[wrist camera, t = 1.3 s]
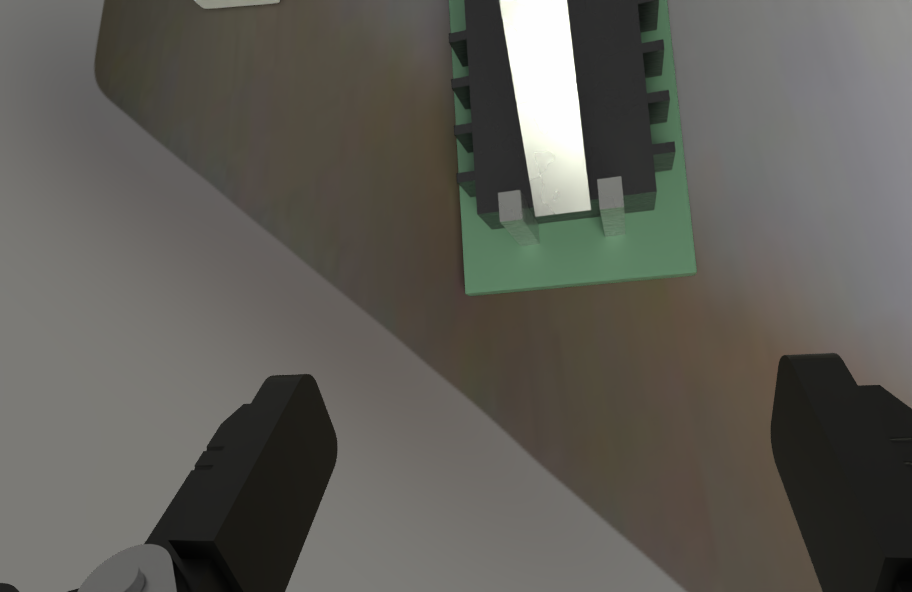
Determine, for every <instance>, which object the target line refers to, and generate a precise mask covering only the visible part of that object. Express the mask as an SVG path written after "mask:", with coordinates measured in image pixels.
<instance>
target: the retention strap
mask: <svg viewBox="0 0 912 592" xmlns="http://www.w3.org/2000/svg"><path fill="white" fill-rule="evenodd" d="M499 1H500V7H501V13H502V19H503V25H504V31H505V37H506V43H507V49H508V55H509V61H510V67H511V73H512V79H513V85H514V91H515V97H516V103H517V109H518V115H519V121H520V127H521V133H522V139H523V145H524V151H525V157H526V163H527V169H528V175H529V181H530V187H531V193H532V199H533V205H534V211H535V217H537V216H545V215H553V214H562V213H570V212H578V211H586V210H591V199H590V190H589V181H588V173H587V164H586V155H585V147H584V138H583V129H582V121H581V112H580V103H579V95H578V86H577V77H576V69H575V60H574V51H573V43H572V34H571V25H570V17H569V8H568V0H499Z"/></svg>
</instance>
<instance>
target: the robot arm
mask: <svg viewBox="0 0 912 592" xmlns="http://www.w3.org/2000/svg"><path fill="white" fill-rule="evenodd" d="M771 444H772V451H773V456H774V460H775V463H776V466H777V469H778V472H779V474H780V477H781V480H782V483H783V485H784V488H785V491H786V493H787V496H788V499H789V501H790V504H791V507H792V510H793V512H794V515H795V518H796V520H797V523H798V526H799V529H800V531H801V534H802V537H803V539H804V542H805V545H806V548H807V550H808V553H809V556H810V558H811V561H812V564H813V566H814V569H815V572H816V575H817V577H818V580H819V583H820V585H821V588H822V591H823V592H912V409H911V408H910V407H908V406H907V405H906V404H904V403H903V402H902V401H900V400H899V399H898V398H896V397H895V396H893V395H892V394H891V393H889V392H888V391H887V390H885V389H884V388H883V387H881V386H880V385H866V386H858V385H857V384H856V382H855V380H854V379H853V377H852V375H851V373H850V372H849V370H848V368H847V367H846V365H845V363H844V362H843V360H842V359H841V357H840V356H839V355H838V354H836V353H826V354H802V355H784V356H782V357H781V359H780V362H779V366H778V373H777V381H776V389H775V397H774V405H773V412H772V420H771ZM336 458H337V438H336V433H335V430H334V428H333V425H332V422H331V420H330V417H329V414H328V412H327V410H326V406H325V404H324V401H323V398H322V396H321V393H320V390H319V388H318V385H317V383H316V380H315V379H314V378H313V376H311V375H309V374H300V375H276V376H270V377H268V378H267V379H266V380H265V382H264V383H263V385H262V386H261V388H260V389H259V391H258V393H257V395H256V396H255V398H254V399H253V401H252V403H251V404H243V405H242V406H241V407H240V408H239V409H238V410H236V411H235V412H234V413H233V414H232V415H231V416H230V417H229V418H227V419H226V420H225V421H224V422H223V423H222V424H221V425H220V427H219V428H218V430H217V432H216V433H215V435H214V436H213V438H212V439H211V441H210V442H209V444H208V445H207V451H204V452H203V453H202V455H201V456H200V458H199V460H198V461H197V463H196V464H195V470H192V471H191V472H190V474H189V475H188V477H187V478H186V480H185V481H184V483H183V484H182V486H181V488H180V489H179V491H178V492H177V494H176V495H175V497H174V499H173V500H172V502H171V504H170V505H169V506H168V508H167V509H166V511H165V513H164V514H163V516H162V517H161V519H160V520H159V522H158V524H157V525H156V527H155V528H154V530H153V531H152V533H151V534H150V536H149V538H148V539H147V541H146V542H145V544H143V545H138V546H134V547H130V548H128V549H125V550H123V551H121V552H119V553H117V554H115V555H114V556H112V557H110V558H109V559H107V560H106V561H104V562H103V563H102V564H101V565H100V566H99V567H97V568H96V569H95V570H94V571H93V572H92V573H91V574H90V575H89V576H88V577H87V579H86V580H85V581H84V582H83V584H82V585H81V587H80V588H79V589H75V590H72V591H68V592H285V590H286V588H287V585H288V583H289V580H290V578H291V575H292V572H293V570H294V567H295V565H296V563H297V560H298V557H299V555H300V552H301V550H302V547H303V545H304V542H305V540H306V537H307V535H308V532H309V530H310V527H311V525H312V522H313V520H314V517H315V514H316V512H317V510H318V507H319V504H320V502H321V500H322V497H323V494H324V492H325V489H326V487H327V484H328V482H329V479H330V477H331V474H332V472H333V469H334V466H335V463H336ZM0 592H19V591H18V590H17V589H16V588H15V587H14V586H12V585H10V584H5V583H0Z"/></svg>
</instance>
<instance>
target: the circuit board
mask: <svg viewBox="0 0 912 592" xmlns="http://www.w3.org/2000/svg"><path fill="white" fill-rule="evenodd" d="M449 12H450V30H451V33H454V32H459V31H464V30H466V21H465V5H464V0H449ZM662 39H663V40H664V59H663V69H662V75H661V76H656V77H650V78H645V81H646V90H647V93H651V92H657V91H663V90H669V95H670V103H669V110H668V118H667V122H665V123H659V124H652V125H650V129H651V139H652V144H659V143H666V142H673V141H675V151H676V152H675V157H674V162H673V167H672V170H669V171H662V172H655V178H656V188H657V194H656V202H655V209H654V210H651V211H643V212H635V213H626V214H624V215H625V235H618V236H609V237H605V234H604V229H603V223H602V218H601V217H593V218H585V219H577V220H568V221H560V222H552V223H543V224H538V225H539V239H540V244H537V245H528V246H520V245H519V243H518V242H517V241H516V240H515V239H514V238H513V236H512V235H511V234H510V233H509V232H508V231H507V230H506V228H502V229H493V230H492V229H491V228H490V227H489V226H488V225H487V224H486V223H485V222H484V221H483V220H482V219H481V218H480V217H479V216H478V215H477V203H476V197H470V196H469V195H468V194H467V193H466V192H465V191H464V190H463V189H462V188H461V186H460V185H459V188H460V206H461V223H462V241H463V258H464V276H465V294H467V295H469V296H477V295H487V294H498V293H509V292H520V291H531V290H542V289H552V288H563V287H574V286H585V285H596V284H607V283H618V282H628V281H639V280H650V279H661V278H672V277H683V276H693V275H695V274H696V273H697V269H696V260H695V251H694V242H693V233H692V224H691V215H690V206H689V196H688V187H687V178H686V169H685V160H684V151H683V142H682V133H681V124H680V115H679V105H678V96H677V87H676V78H675V69H674V60H673V51H672V42H671V33H670V24H669V15H668V5H667V0H659V9H658V22H657V30H653V31H647V32H642V33H641V42H642V43H646V42H651V41H656V40H662ZM452 65H453V79H455V78H460V77H465V76H469V71H468V66H466V67H462V65H461V63H460V61H459V59H458V58H457V56H456V54H455V52H454V50H453V48H452ZM454 100H455V118H456V125H461V124H467V123H472V120H471V109H466V110H465V108H464V107H463V105H462V104H461V102H460V100H459V99H458V97H457V96H456V94H455V93H454ZM457 153H458V170H459V173H461V172H468V171H475V170H474V153H473V152H471V153H467V151H466V150H465V149H464V147H463V146H462V144H461V143H460V142H459V140H458V139H457Z"/></svg>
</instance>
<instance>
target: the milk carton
mask: <svg viewBox="0 0 912 592" xmlns="http://www.w3.org/2000/svg"><path fill="white" fill-rule="evenodd" d="M194 1H195V2H196V3H197V4H199V5H200V6H201V7H202V8H204V9H211V8H224V7H237V6H249V5H262V4H274V3H279V2H280V0H194Z"/></svg>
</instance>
